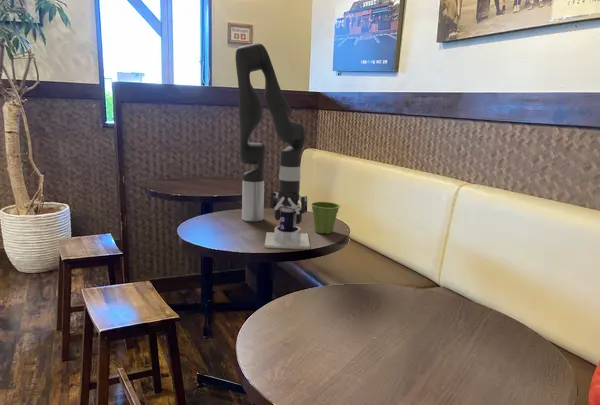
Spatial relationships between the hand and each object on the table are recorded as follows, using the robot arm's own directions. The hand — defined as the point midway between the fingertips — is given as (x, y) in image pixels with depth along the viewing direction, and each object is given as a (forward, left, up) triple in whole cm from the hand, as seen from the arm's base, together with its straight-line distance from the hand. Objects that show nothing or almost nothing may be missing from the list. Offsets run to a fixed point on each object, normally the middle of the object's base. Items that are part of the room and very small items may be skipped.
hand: (287, 221), depth 167 cm
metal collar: (0, 0, -8) cm, 8 cm away
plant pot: (-15, +15, -8) cm, 23 cm away
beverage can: (0, 0, -7) cm, 7 cm away
